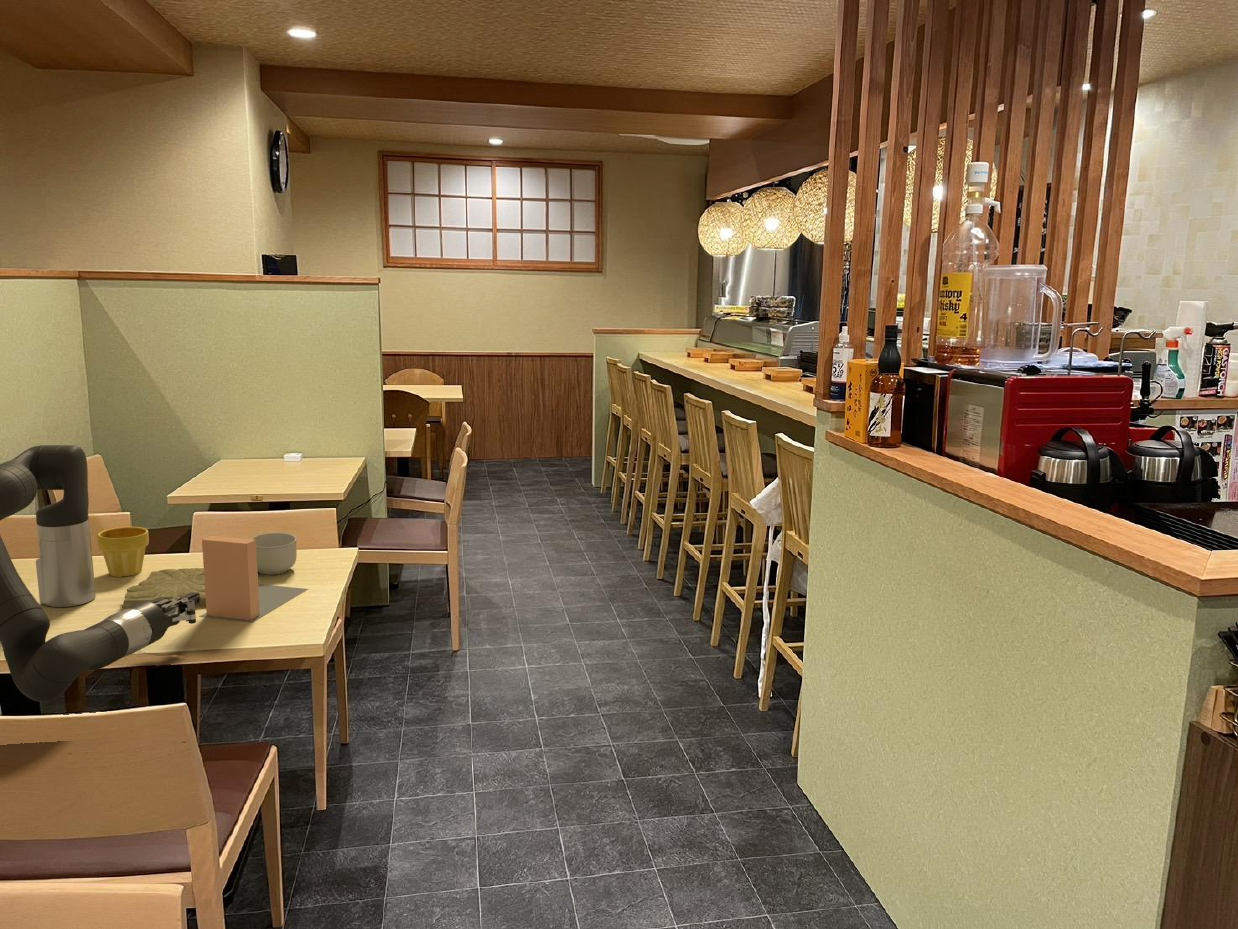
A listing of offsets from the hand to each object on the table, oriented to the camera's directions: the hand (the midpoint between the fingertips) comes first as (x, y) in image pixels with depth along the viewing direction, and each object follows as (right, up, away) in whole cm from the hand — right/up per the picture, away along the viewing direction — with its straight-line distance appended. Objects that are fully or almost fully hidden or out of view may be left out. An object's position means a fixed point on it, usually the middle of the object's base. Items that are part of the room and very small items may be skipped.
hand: (196, 597), depth 170 cm
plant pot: (-34, 0, +37) cm, 50 cm away
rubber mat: (+3, -4, +20) cm, 21 cm away
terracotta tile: (+2, -5, +12) cm, 13 cm away
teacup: (-3, 0, +42) cm, 42 cm away
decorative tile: (-15, -4, +24) cm, 29 cm away
